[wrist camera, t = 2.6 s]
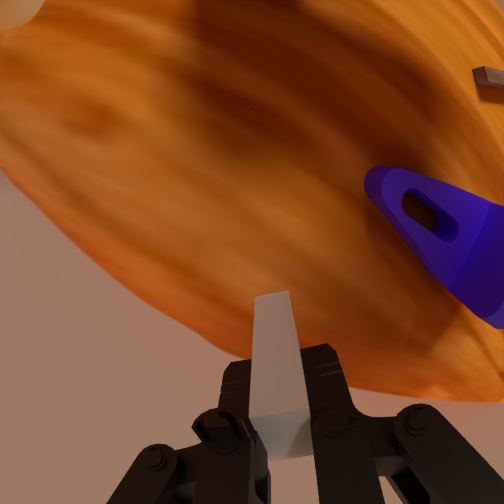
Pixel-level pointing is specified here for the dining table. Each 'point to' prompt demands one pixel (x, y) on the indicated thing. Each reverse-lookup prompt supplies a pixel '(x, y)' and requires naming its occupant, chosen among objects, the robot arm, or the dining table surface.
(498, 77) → the handle
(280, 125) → the dining table surface
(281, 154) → the dining table surface
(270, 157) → the dining table surface
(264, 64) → the dining table surface
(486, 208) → the bracket
